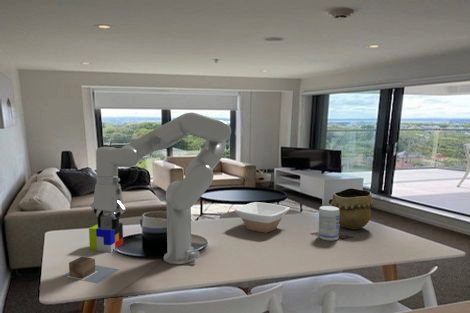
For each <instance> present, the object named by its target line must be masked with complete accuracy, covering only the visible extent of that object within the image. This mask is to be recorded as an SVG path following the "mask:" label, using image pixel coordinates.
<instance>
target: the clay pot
mask: <svg viewBox="0 0 470 313" xmlns="http://www.w3.org/2000/svg"><path fill="white" fill-rule="evenodd" d="M372 196H373V195H372V192H371V191H370V190H368V189H359V188H354V187H350V188H345V189H343V190H340V191H336V192H335V191H334V192H333V195H332V199H331V202H330V204H331V206H333V207H337V208H339V226H342V227H343V228H345V229H348V230H350V229H351V230H359V229H362V228H364V227H365V226H366V225H368V224H369V222H370V220H371V218H372V210H371V208H372V207H374V205H375V204H374V201H373V197H372Z"/></svg>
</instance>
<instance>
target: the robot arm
mask: <svg viewBox="0 0 470 313" xmlns="http://www.w3.org/2000/svg"><path fill="white" fill-rule="evenodd" d="M231 135H232V128H231V125H229V123H228V122H226V121H224V120H222V119H217V118H214V117H209V116H206V115H203V114H199V113H197V112H196V113H195V112H185V113H182V114H181V115H179V116H177V117H176V118H173V119H171V120H170V121H168V122H166V123H164V124H162V125H161V126H158V127H157V128H154V129H152V130H151V131H149V132H148V133H146V134H144V135H142V136H140V137H139V138H137V139H135V140H133V141H131V142H129V143H127V144H125V145H124V146H122V147H119V148H116V147H114V146H113V147H112V146H104V147H103V146H100V147H97V149H95V161H96V162H95V164H96V167H95V168H96V169H95V170H96V183H95V187H94V192H93V203H91V205H90V208H91V209H92V211H93V213H94V214H95V217H96V218H97V224H98V227H99V228H100V227H101V216H102V215H104V214H105V212H110V213H112V216H113V219H112V230H114V229H117V228H119V223H120V218H121V216H122V215H123V213H125V212H126V211H127V209H126V208H125V206H124V203H123V202H124V201H123V199H124V198H123V191H122V186H121V184H120V183H119V182H120V181H121V178H120V177H119V167H122V168H123V167H124V168H132V167H134V166H136V165H137V164H138V163H139V161H140V159H142V158H143V157H145V156H148V155H149V154H152V153H154V152H157V151H162V150H164V149H167V148H170V147H171V146H173V145H175V144H177V143H178V142H180V141H182V140H183V139H186V138H188V137H190V136H193V137H196V138H199V139H204V140H205V143H204V145H203V147H202V149H201V150H200V152H199V153H198V154H197V155H196V156H195V158H194V159H192V161H191V162H190V163H189V164H188V165H187V167H186V168H185V170H184V178H183V179H182V180H176V181H172V182H171V183H170V184H168V186H167V188H166V191H165V203H166V237H167V238H166V239H167V240H166V242H167V245H166V246H167V249H166V250H167V252H166V253H164V256H163V261H164V262H165V263H167V264H170V265H185V264H189V263H191V262H193V261H194V260H195V259H199V258H200V257H201V255H200V251H199V250H194V249H195V248H194V246H192V210H191V208H192V207H193V206H194V205H195V204H196V203H197V202H198V201H199V199H200V198H201V197H202V196H203V195H204V194H205V192H206V191H207V190H208V189H209V187H210V186H211V184H212V183H213V180H214V171H213V170H214V169H215V168H216V167H217V165H218V163H219V162H220V161H221V159H222V158H223V156H224V154H225V150H226V142H227V141H228V140H229V139H230V137H231ZM115 213H116V214H115Z"/></svg>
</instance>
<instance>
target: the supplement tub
mask: <svg viewBox="0 0 470 313" xmlns="http://www.w3.org/2000/svg"><path fill="white" fill-rule="evenodd" d="M318 238H319V239H321V240H322V241H332V242H333V241H337V240H339V238H340V224H339V208H337V207H334V206H332V205H323V206H320V207H319V210H318Z"/></svg>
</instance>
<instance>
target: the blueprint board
mask: <svg viewBox="0 0 470 313" xmlns="http://www.w3.org/2000/svg"><path fill="white" fill-rule="evenodd" d="M120 269H121V268H115V267H109V266H103V265H97V264H95V272H94V273H93V274H91V275H89V276H87V277H86V278H84V279H81V278H76V277H70V275H69V271H68V272H66V273H65V274H62V275H60V277H62V278H68V279H72V280H77V281H82V282H88V283H93V284H99V283H100V282H102V281H103V280H105V279H107V278H108V277H110V276H112V275H114V274H115V273H117V272H118V271H120Z"/></svg>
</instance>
